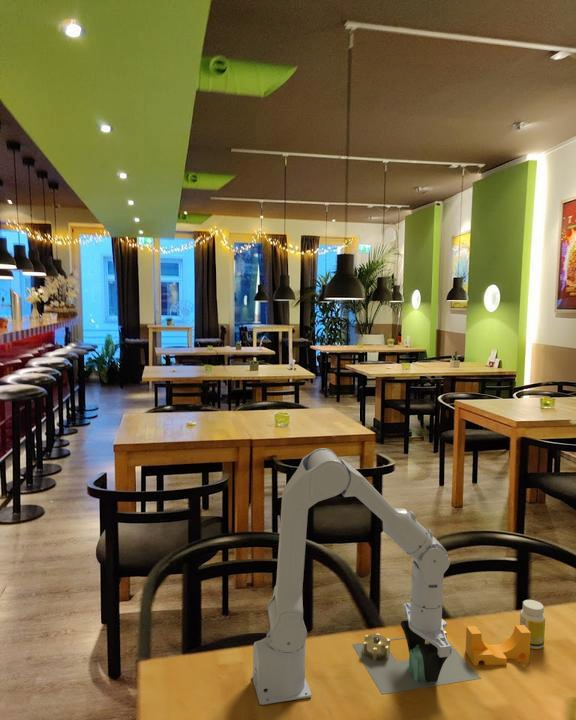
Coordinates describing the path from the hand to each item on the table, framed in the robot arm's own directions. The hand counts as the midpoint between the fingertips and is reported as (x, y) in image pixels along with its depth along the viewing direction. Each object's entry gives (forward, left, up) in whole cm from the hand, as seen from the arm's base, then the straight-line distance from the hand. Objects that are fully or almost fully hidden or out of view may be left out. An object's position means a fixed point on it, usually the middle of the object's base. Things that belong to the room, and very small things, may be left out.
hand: (423, 670), depth 101 cm
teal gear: (0, 0, -1) cm, 1 cm away
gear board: (0, +4, -2) cm, 4 cm away
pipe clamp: (+17, +1, -2) cm, 17 cm away
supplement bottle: (+28, +6, -2) cm, 29 cm away
